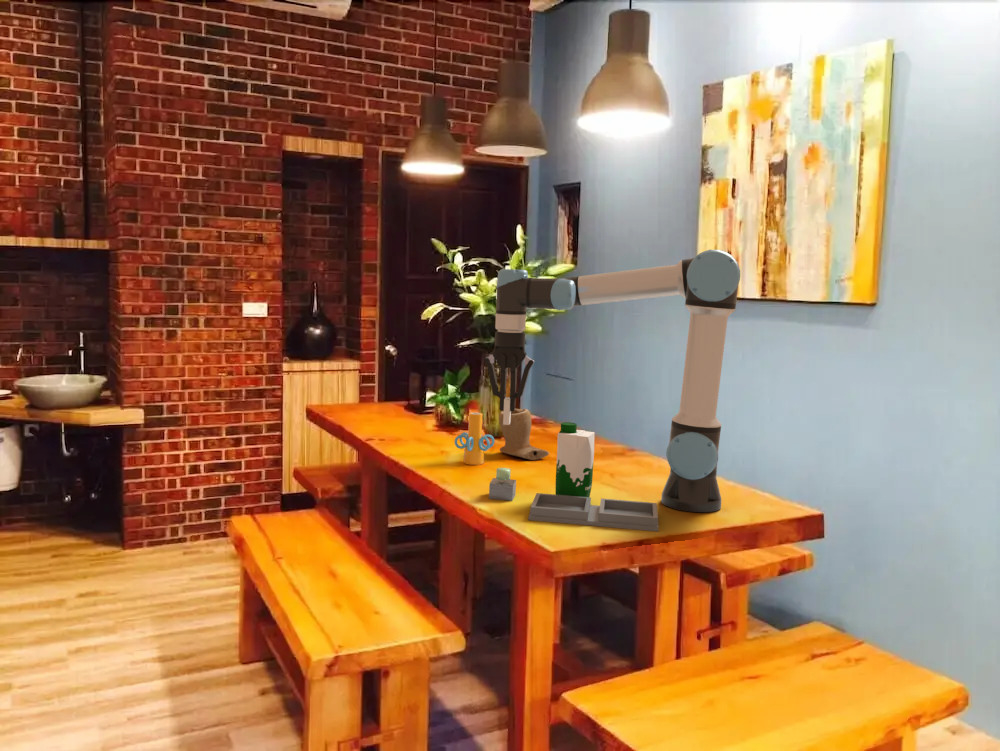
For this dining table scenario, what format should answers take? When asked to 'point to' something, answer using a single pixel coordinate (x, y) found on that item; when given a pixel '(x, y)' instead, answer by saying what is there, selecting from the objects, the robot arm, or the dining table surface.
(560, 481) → the soya milk
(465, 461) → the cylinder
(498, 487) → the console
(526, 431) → the brown boot
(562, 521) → the pocket tray
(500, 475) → the button
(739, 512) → the dining table surface
